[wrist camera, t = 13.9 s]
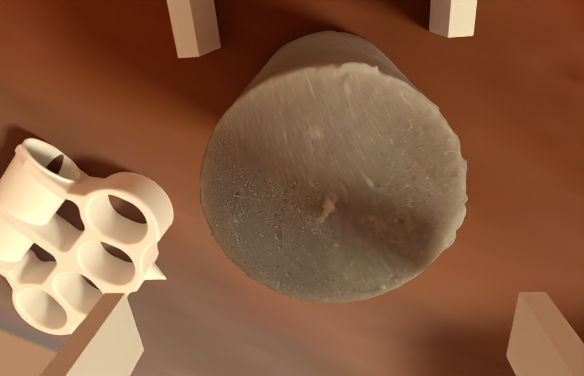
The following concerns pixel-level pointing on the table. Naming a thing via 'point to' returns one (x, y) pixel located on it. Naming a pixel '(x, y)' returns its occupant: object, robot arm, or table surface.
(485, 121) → the table surface
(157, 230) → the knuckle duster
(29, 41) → the table surface
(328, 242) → the pillar candle
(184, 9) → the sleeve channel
